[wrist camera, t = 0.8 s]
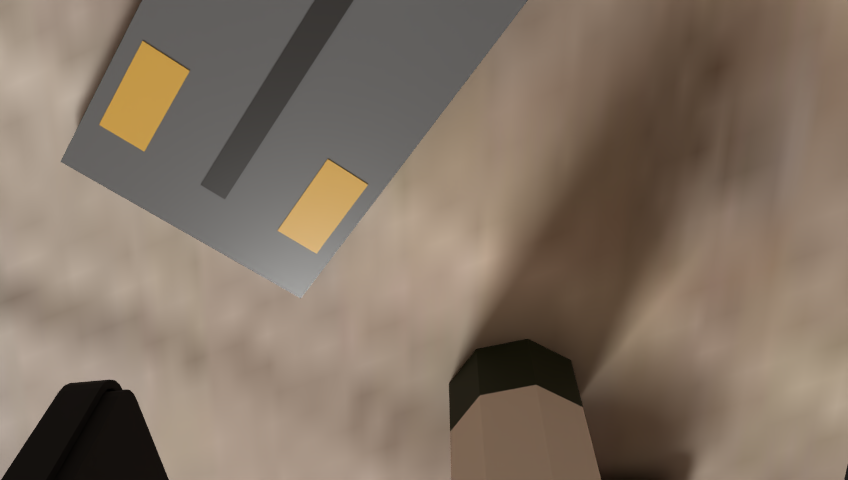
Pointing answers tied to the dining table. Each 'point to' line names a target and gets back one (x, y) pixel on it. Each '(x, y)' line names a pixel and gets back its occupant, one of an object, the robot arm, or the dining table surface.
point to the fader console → (276, 115)
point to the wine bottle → (518, 417)
